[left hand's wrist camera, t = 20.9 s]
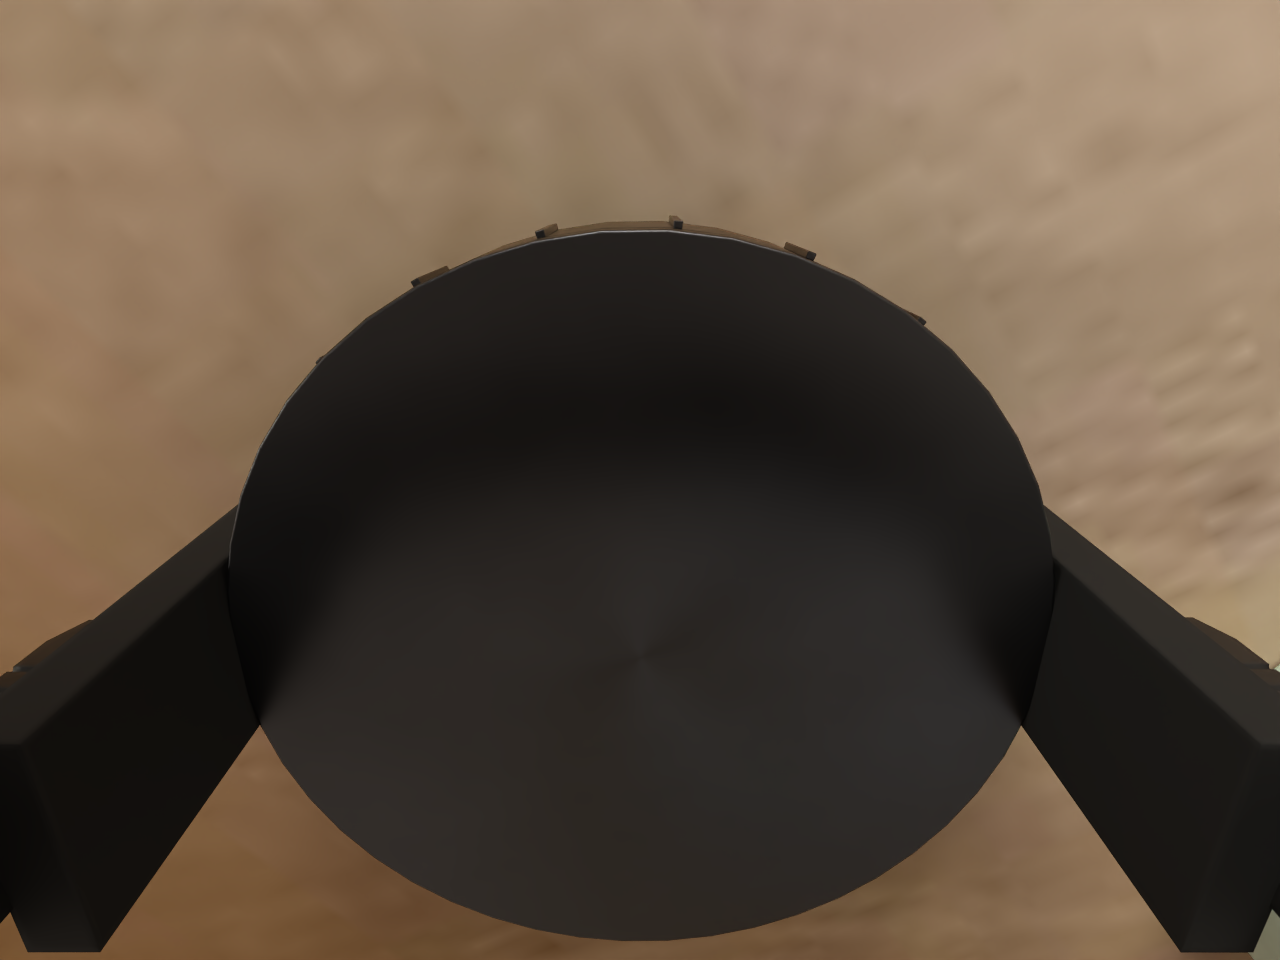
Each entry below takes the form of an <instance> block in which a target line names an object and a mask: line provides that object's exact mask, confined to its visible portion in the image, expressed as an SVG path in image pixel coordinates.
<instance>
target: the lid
mask: <svg viewBox="0 0 1280 960" xmlns="http://www.w3.org/2000/svg"><path fill="white" fill-rule="evenodd" d="M535 233H536V236H534V237H530V238H527V239H524V240H520V241H517V242H514V243H510V244H507V245H504V246H501V247H499V248H497V249H495V250H492V251H490V252H488V253H486V254H483V255H481V256H479V257H477V258H474V259H472V260H470V261H468V262H466V263H464V264H461V265H459V266H457V267H455V268H453V269H451V270H449V269H448V267H447V266H445V267H442V268H440V269H438V270H435V271H433V272H430V273H428V274H426V275H423V276H421V277H418V278H416V279H415V280H413V281H411V283H412V285H413V288H412V289H410V290H409V291H407V292H406V293H404V294H403V295H401V296H399V297H398V298H396V299H395V300H393V301H392V302H390V303H389V304H387V305H386V306H384V307H383V308H381V309H380V310H378V311H376V312H375V313H373V314H372V315H370V316H369V317H367V318H366V319H365V320H364V321H362V322H361V323H360V324H359V325H358V326H357V327H356V328H355V329H354V330H352V331H351V332H350V333H349V334H348V335H347V336H346V337H345V338H343V339H342V340H341V341H340V342H339V343H338V344H337V345H336V346H334V347H333V348H332V349H331V350H330V351H329V352H328V353H327V354H325V355H324V356H322V357H320V358H319V359H318V360H317V361H316V366H315V367H314V368H313V369H312V370H311V372H310V373H309V374H308V375H307V376H306V378H305V379H304V380H303V381H302V383H301V384H300V385H299V386H298V387H297V389H296V390H295V391H294V392H293V393H292V395H291V396H290V397H289V398H288V400H287V401H286V403H285V404H284V406H283V408H282V409H281V411H280V413H279V414H278V416H277V418H276V419H275V421H274V423H273V425H272V426H271V428H270V430H269V431H268V433H267V435H266V436H265V438H264V440H263V442H262V443H261V445H260V447H259V449H258V452H257V454H256V457H255V459H254V462H253V464H252V467H251V469H250V472H249V475H248V477H247V480H246V482H245V485H244V487H243V490H242V492H241V495H240V500H239V504H238V509H237V514H236V518H235V523H234V527H233V532H232V537H231V541H230V551H229V569H228V586H227V595H228V606H229V615H230V620H231V625H232V630H233V634H234V638H235V642H236V647H237V651H238V655H239V659H240V664H241V668H242V672H243V676H244V681H245V685H246V689H247V692H248V696H249V699H250V701H251V704H252V706H253V709H254V711H255V713H256V716H257V718H258V721H259V723H260V725H261V727H262V729H263V731H264V732H265V734H266V736H267V737H268V739H269V741H270V743H271V744H272V746H273V748H274V749H275V751H276V753H277V755H278V756H279V758H280V760H281V762H282V763H283V765H284V766H285V767H286V769H287V770H288V771H289V772H290V774H291V775H292V776H293V778H294V779H295V780H296V782H297V783H298V784H299V785H300V787H301V788H302V789H303V791H304V792H305V793H306V795H307V796H308V797H309V798H310V800H311V801H312V802H313V803H314V804H315V805H316V806H317V807H318V808H319V809H320V810H321V811H322V812H323V813H324V814H325V815H326V816H327V817H328V818H329V819H330V820H331V821H332V822H333V823H334V824H335V825H336V826H337V827H338V828H339V829H340V830H341V831H342V832H343V833H345V834H346V835H347V836H348V837H350V838H351V839H352V840H353V841H355V842H356V843H357V844H358V845H359V846H361V847H362V848H363V849H364V850H366V851H367V852H368V853H369V854H371V855H372V856H373V857H374V858H376V859H377V860H379V861H380V862H382V863H383V864H385V865H387V866H388V867H390V868H391V869H393V870H394V871H396V872H397V873H399V874H401V875H402V876H404V877H405V878H407V879H408V880H410V881H412V882H413V883H415V884H417V885H419V886H421V887H423V888H425V889H427V890H429V891H431V892H433V893H435V894H437V895H439V896H441V897H443V898H445V899H447V900H449V901H451V902H453V903H456V904H459V905H461V906H464V907H466V908H469V909H472V910H474V911H477V912H479V913H482V914H485V915H487V916H490V917H492V918H496V919H499V920H503V921H507V922H510V923H514V924H517V925H521V926H525V927H528V928H532V929H536V930H541V931H547V932H552V933H558V934H564V935H569V936H575V937H582V938H594V939H606V940H618V941H668V940H677V939H687V938H697V937H707V936H714V935H719V934H724V933H730V932H735V931H740V930H745V929H750V928H755V927H758V926H762V925H765V924H768V923H772V922H775V921H779V920H782V919H785V918H789V917H792V916H795V915H798V914H801V913H803V912H806V911H808V910H811V909H813V908H816V907H818V906H820V905H823V904H825V903H828V902H830V901H833V900H835V899H838V898H840V897H842V896H843V895H845V894H847V893H849V892H851V891H853V890H855V889H857V888H859V887H860V886H862V885H864V884H866V883H868V882H870V881H872V880H874V879H876V878H877V877H879V876H880V875H882V874H883V873H885V872H886V871H888V870H889V869H891V868H892V867H894V866H895V865H897V864H898V863H900V862H901V861H903V860H904V859H906V858H907V857H909V856H910V855H912V854H913V853H914V852H916V851H917V850H918V849H919V848H920V847H922V846H923V845H924V844H925V843H926V842H927V841H929V840H930V839H931V838H932V837H933V836H935V835H936V834H937V833H938V832H939V831H941V830H942V829H943V828H944V827H945V826H946V825H948V824H949V822H950V821H951V820H952V819H953V818H954V817H955V816H956V815H957V814H958V813H959V812H960V811H961V810H962V809H963V808H964V807H965V805H966V804H967V803H968V802H969V801H970V800H971V799H972V798H973V797H974V796H975V795H976V794H977V793H978V791H979V790H980V789H981V787H982V786H983V785H984V783H985V782H986V780H987V779H988V778H989V776H990V775H991V774H992V772H993V771H994V769H995V768H996V767H997V765H998V764H999V763H1000V761H1001V760H1002V759H1003V757H1004V756H1005V754H1006V752H1007V750H1008V748H1009V746H1010V745H1011V743H1012V741H1013V739H1014V737H1015V736H1016V734H1017V732H1018V730H1019V728H1020V726H1021V725H1022V723H1023V721H1024V719H1025V717H1026V715H1027V712H1028V709H1029V707H1030V704H1031V701H1032V697H1033V693H1034V690H1035V686H1036V681H1037V677H1038V673H1039V669H1040V665H1041V660H1042V656H1043V652H1044V648H1045V643H1046V639H1047V635H1048V631H1049V626H1050V622H1051V617H1052V612H1053V605H1054V590H1055V577H1054V566H1053V554H1052V543H1051V533H1050V529H1049V525H1048V521H1047V517H1046V513H1045V509H1044V505H1043V501H1042V497H1041V493H1040V489H1039V485H1038V483H1037V481H1036V478H1035V476H1034V474H1033V471H1032V469H1031V467H1030V464H1029V462H1028V460H1027V457H1026V455H1025V453H1024V450H1023V448H1022V446H1021V443H1020V441H1019V439H1018V437H1017V435H1016V433H1015V432H1014V430H1013V429H1012V427H1011V426H1010V424H1009V422H1008V421H1007V419H1006V418H1005V416H1004V415H1003V413H1002V411H1001V410H1000V408H999V407H998V405H997V403H996V402H995V400H994V399H993V397H992V396H991V394H990V392H989V391H988V390H987V389H986V388H985V386H984V385H983V384H982V383H981V382H980V381H979V380H978V379H977V377H976V376H975V375H974V374H973V373H972V372H971V371H970V369H969V368H968V367H967V366H966V365H965V364H964V363H963V361H962V360H961V359H960V358H959V357H958V356H957V355H956V353H955V352H954V351H953V350H952V349H951V348H950V347H949V346H947V345H946V344H945V343H944V342H943V341H941V340H940V339H939V338H938V337H937V336H935V335H934V334H933V333H932V332H931V331H930V330H928V329H927V328H926V327H925V326H924V325H925V324H926V321H925V320H924V319H922V318H921V317H919V316H917V315H915V314H913V313H911V312H909V311H907V310H904V309H902V308H900V307H899V306H897V305H896V304H894V303H892V302H891V301H889V300H887V299H886V298H884V297H883V296H881V295H879V294H878V293H876V292H874V291H873V290H871V289H869V288H868V287H866V286H865V285H863V284H861V283H860V282H858V281H856V280H855V279H853V278H850V277H848V276H846V275H844V274H841V273H839V272H837V271H835V270H832V269H830V268H828V267H826V266H823V265H821V264H819V263H816V262H814V259H815V256H816V254H815V253H813V252H811V251H808V250H805V249H803V248H800V247H798V246H795V245H793V244H790V243H788V242H786V244H785V246H784V248H781V247H779V246H777V245H774V244H772V243H770V242H767V241H763V240H759V239H756V238H752V237H748V236H745V235H741V234H737V233H733V232H730V231H726V230H722V229H719V228H713V227H705V226H697V225H689V224H683V221H682V220H681V219H680V218H678V217H677V216H669V222H665V221H645V222H605V223H599V224H592V225H585V226H579V227H572V228H566V229H559V230H558V227H557V224H552V225H549V226H546V227H544V228H542V229H540V230H537V231H535Z"/></svg>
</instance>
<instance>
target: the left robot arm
mask: <svg viewBox="0 0 1280 960" xmlns="http://www.w3.org/2000/svg"><path fill="white" fill-rule="evenodd" d="M237 509H238V505H237V506H236V507H234V508H233V509H232V510H231V511H229V512H228V513H227V514H225V515H224V516H223V517H222V518H220V519H219V520H218V521H217V522H215V523H214V524H213V525H212V526H210V527H209V528H208V529H207V530H205V531H204V532H203V533H202V534H200V535H199V536H198V537H197V538H195V539H194V540H193V541H192V542H190V543H189V544H188V545H187V546H185V547H184V548H183V549H182V550H180V551H179V552H178V553H177V554H175V555H174V556H173V557H172V558H170V559H169V560H168V561H167V562H165V563H164V564H163V565H161V566H160V567H159V568H158V569H156V570H155V571H154V572H153V573H151V574H150V575H149V576H148V577H146V578H145V579H144V580H143V581H141V582H140V583H139V584H138V585H136V586H135V587H134V588H133V589H131V590H130V591H129V592H128V593H126V594H125V595H124V596H123V597H121V598H120V599H119V600H118V601H116V602H115V603H114V604H113V605H111V606H110V607H109V608H108V609H106V610H105V611H104V612H103V613H101V614H100V615H99V616H97V617H96V618H95V619H94V620H88V621H86V622H84V623H82V624H80V625H78V626H76V627H74V628H72V629H70V630H68V631H66V632H64V633H62V634H60V635H58V636H56V637H54V638H52V639H50V640H48V641H46V642H45V643H44V644H42V645H41V646H40V647H38V648H37V649H36V650H34V651H33V652H32V653H31V654H29V655H28V656H27V657H25V658H24V659H23V660H22V661H20V662H19V663H18V664H16V665H15V666H14V667H13V671H12V672H6V673H5V674H3V675H2V676H1V677H0V923H1V922H2V921H3V920H4V919H5V917H6V916H7V915H8V914H9V913H11V915H12V917H13V919H14V922H15V924H16V926H17V929H18V931H19V933H20V935H21V938H22V940H23V942H24V945H25V947H26V949H27V951H28V952H101V950H102V949H103V947H104V946H105V945H106V943H107V942H108V940H109V939H110V937H111V936H112V935H113V933H114V932H115V930H116V929H117V927H118V926H119V925H120V923H121V922H122V920H123V919H124V917H125V916H126V915H127V913H128V912H129V910H130V909H131V908H132V906H133V905H134V903H135V902H136V900H137V899H138V898H139V896H140V895H141V893H142V892H143V890H144V889H145V888H146V886H147V885H148V883H149V882H150V880H151V879H152V878H153V876H154V875H155V873H156V872H157V871H158V869H159V868H160V866H161V865H162V863H163V862H164V861H165V859H166V858H167V856H168V855H169V853H170V852H171V851H172V849H173V848H174V846H175V845H176V843H177V842H178V841H179V839H180V838H181V836H182V835H183V834H184V832H185V831H186V829H187V828H188V826H189V825H190V824H191V822H192V821H193V819H194V818H195V816H196V815H197V814H198V812H199V811H200V809H201V808H202V806H203V805H204V804H205V802H206V801H207V799H208V798H209V797H210V795H211V794H212V792H213V791H214V789H215V788H216V787H217V785H218V784H219V782H220V781H221V779H222V778H223V777H224V775H225V774H226V772H227V771H228V769H229V768H230V767H231V765H232V764H233V762H234V761H235V760H236V758H237V757H238V755H239V754H240V752H241V751H242V750H243V748H244V747H245V745H246V744H247V742H248V741H249V740H250V738H251V737H252V735H253V734H254V732H255V731H256V730H257V728H258V727H259V725H260V723H259V721H258V718H257V716H256V713H255V711H254V709H253V706H252V704H251V701H250V699H249V696H248V692H247V689H246V685H245V681H244V676H243V672H242V668H241V664H240V659H239V655H238V651H237V647H236V642H235V638H234V634H233V630H232V625H231V620H230V615H229V606H228V595H227V586H228V569H229V551H230V541H231V537H232V532H233V527H234V523H235V518H236V514H237ZM1044 509H1045V513H1046V517H1047V521H1048V525H1049V529H1050V533H1051V543H1052V554H1053V566H1054V577H1055V590H1054V605H1053V612H1052V617H1051V622H1050V626H1049V631H1048V635H1047V639H1046V643H1045V648H1044V652H1043V656H1042V660H1041V665H1040V669H1039V673H1038V677H1037V681H1036V686H1035V690H1034V693H1033V697H1032V701H1031V704H1030V707H1029V709H1028V712H1027V715H1026V717H1025V719H1024V721H1023V723H1022V725H1021V726H1022V727H1023V728H1024V730H1025V731H1026V733H1027V734H1028V736H1029V737H1030V738H1031V740H1032V741H1033V743H1034V744H1035V745H1036V747H1037V748H1038V750H1039V751H1040V753H1041V754H1042V755H1043V757H1044V758H1045V760H1046V761H1047V763H1048V764H1049V765H1050V767H1051V768H1052V770H1053V771H1054V773H1055V774H1056V775H1057V777H1058V778H1059V780H1060V781H1061V782H1062V784H1063V785H1064V787H1065V788H1066V790H1067V791H1068V792H1069V794H1070V795H1071V797H1072V798H1073V800H1074V801H1075V802H1076V804H1077V805H1078V807H1079V808H1080V809H1081V811H1082V812H1083V814H1084V815H1085V817H1086V818H1087V819H1088V821H1089V822H1090V824H1091V825H1092V827H1093V828H1094V829H1095V831H1096V832H1097V834H1098V835H1099V837H1100V838H1101V839H1102V841H1103V842H1104V844H1105V845H1106V846H1107V848H1108V849H1109V851H1110V852H1111V854H1112V855H1113V856H1114V858H1115V859H1116V861H1117V862H1118V864H1119V865H1120V866H1121V868H1122V869H1123V871H1124V872H1125V874H1126V875H1127V876H1128V878H1129V879H1130V881H1131V882H1132V883H1133V885H1134V886H1135V888H1136V889H1137V891H1138V892H1139V893H1140V895H1141V896H1142V898H1143V899H1144V901H1145V902H1146V903H1147V905H1148V906H1149V908H1150V909H1151V911H1152V912H1153V913H1154V915H1155V916H1156V918H1157V919H1158V920H1159V922H1160V923H1161V925H1162V926H1163V928H1164V929H1165V930H1166V932H1167V933H1168V935H1169V936H1170V938H1171V939H1172V940H1173V942H1174V943H1175V945H1176V946H1177V948H1178V949H1179V950H1180V952H1254V950H1255V948H1256V945H1257V943H1258V941H1259V938H1260V936H1261V934H1262V932H1263V929H1264V927H1265V925H1266V922H1267V920H1268V918H1269V916H1270V913H1271V911H1272V910H1273V911H1274V912H1275V913H1276V914H1277V915H1278V917H1279V918H1280V672H1278V671H1277V670H1276V669H1269V664H1268V663H1267V662H1265V661H1264V660H1263V659H1261V658H1260V657H1259V656H1258V655H1256V654H1255V653H1254V652H1252V651H1251V650H1250V649H1248V648H1247V647H1246V646H1244V645H1243V644H1242V643H1241V642H1239V641H1238V640H1237V639H1235V638H1233V637H1231V636H1229V635H1227V634H1225V633H1223V632H1221V631H1219V630H1217V629H1215V628H1213V627H1211V626H1209V625H1207V624H1205V623H1203V622H1201V621H1199V620H1197V619H1195V618H1185V617H1183V616H1182V615H1181V614H1180V613H1178V612H1177V611H1176V610H1175V609H1173V608H1172V607H1171V606H1170V605H1168V604H1167V603H1166V602H1165V601H1163V600H1162V599H1161V598H1160V597H1158V596H1157V595H1156V594H1155V593H1153V592H1152V591H1151V590H1150V589H1148V588H1147V587H1146V586H1145V585H1143V584H1142V583H1141V582H1140V581H1138V580H1137V579H1136V578H1135V577H1133V576H1132V575H1131V574H1130V573H1128V572H1127V571H1126V570H1124V569H1123V568H1122V567H1121V566H1119V565H1118V564H1117V563H1116V562H1114V561H1113V560H1112V559H1111V558H1109V557H1108V556H1107V555H1106V554H1104V553H1103V552H1102V551H1101V550H1099V549H1098V548H1097V547H1096V546H1094V545H1093V544H1092V543H1091V542H1089V541H1088V540H1087V539H1086V538H1084V537H1083V536H1082V535H1081V534H1079V533H1078V532H1077V531H1076V530H1074V529H1073V528H1072V527H1071V526H1069V525H1068V524H1067V523H1065V522H1064V521H1063V520H1062V519H1060V518H1059V517H1058V516H1057V515H1055V514H1054V513H1053V512H1052V511H1050V510H1049V509H1048V508H1047V507H1045V506H1044Z"/></svg>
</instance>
